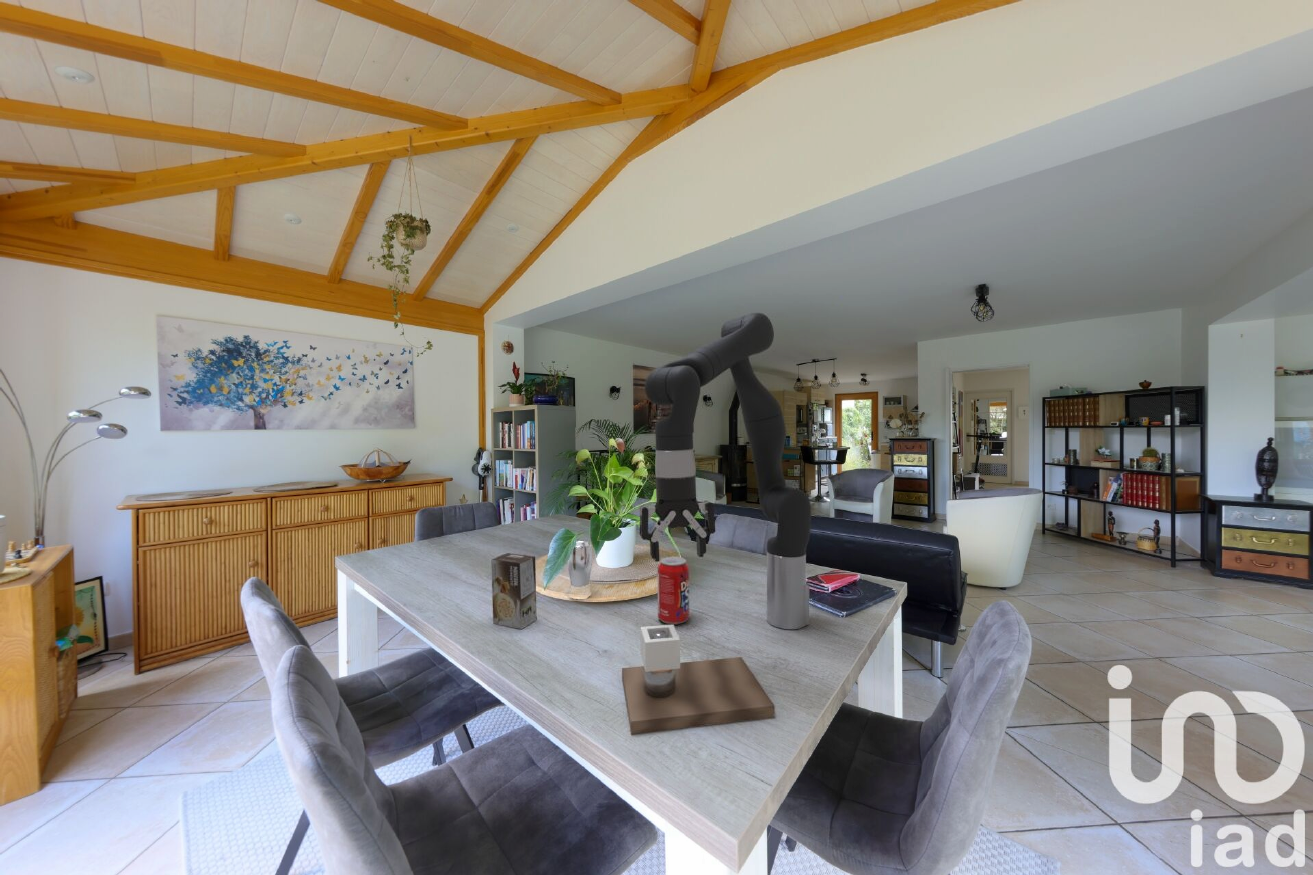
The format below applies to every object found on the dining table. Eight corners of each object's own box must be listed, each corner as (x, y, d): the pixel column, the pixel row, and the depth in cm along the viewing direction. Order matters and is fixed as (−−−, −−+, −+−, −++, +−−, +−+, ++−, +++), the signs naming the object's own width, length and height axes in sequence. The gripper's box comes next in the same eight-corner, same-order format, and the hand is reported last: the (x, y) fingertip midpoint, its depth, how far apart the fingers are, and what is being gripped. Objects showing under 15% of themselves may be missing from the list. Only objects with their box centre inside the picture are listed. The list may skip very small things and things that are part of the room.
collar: (673, 651, 84) (673, 624, 84) (680, 668, 78) (680, 639, 78) (640, 654, 83) (640, 626, 83) (645, 671, 77) (645, 642, 77)
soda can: (652, 617, 116) (651, 558, 115) (678, 610, 119) (678, 553, 119) (668, 629, 109) (667, 566, 108) (695, 622, 113) (695, 561, 112)
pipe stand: (741, 666, 92) (741, 607, 92) (774, 717, 76) (774, 646, 76) (622, 678, 88) (621, 616, 88) (631, 733, 72) (630, 659, 72)
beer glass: (581, 602, 125) (580, 548, 125) (562, 597, 129) (561, 544, 128) (597, 594, 131) (597, 542, 131) (579, 589, 135) (578, 539, 134)
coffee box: (538, 619, 115) (537, 555, 114) (521, 629, 109) (520, 563, 108) (508, 613, 118) (507, 552, 118) (491, 623, 112) (490, 559, 112)
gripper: (705, 469, 91) (708, 549, 92) (635, 473, 89) (638, 556, 89) (717, 473, 84) (720, 560, 85) (641, 478, 81) (644, 568, 82)
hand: (678, 558), depth 87 cm, fingers open, 8 cm apart
